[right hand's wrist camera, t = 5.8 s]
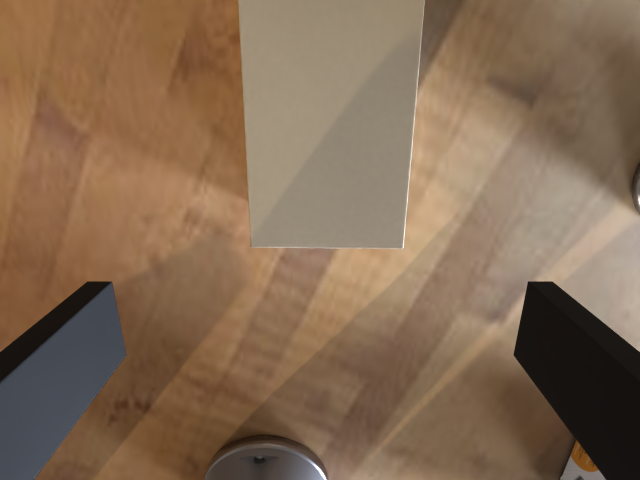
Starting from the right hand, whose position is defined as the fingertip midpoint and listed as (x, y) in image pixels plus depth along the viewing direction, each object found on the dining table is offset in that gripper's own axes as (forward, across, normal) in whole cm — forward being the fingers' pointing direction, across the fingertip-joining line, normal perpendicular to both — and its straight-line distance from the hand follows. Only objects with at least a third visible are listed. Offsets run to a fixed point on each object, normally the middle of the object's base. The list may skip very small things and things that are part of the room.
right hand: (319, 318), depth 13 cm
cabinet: (+26, -1, -6) cm, 26 cm away
